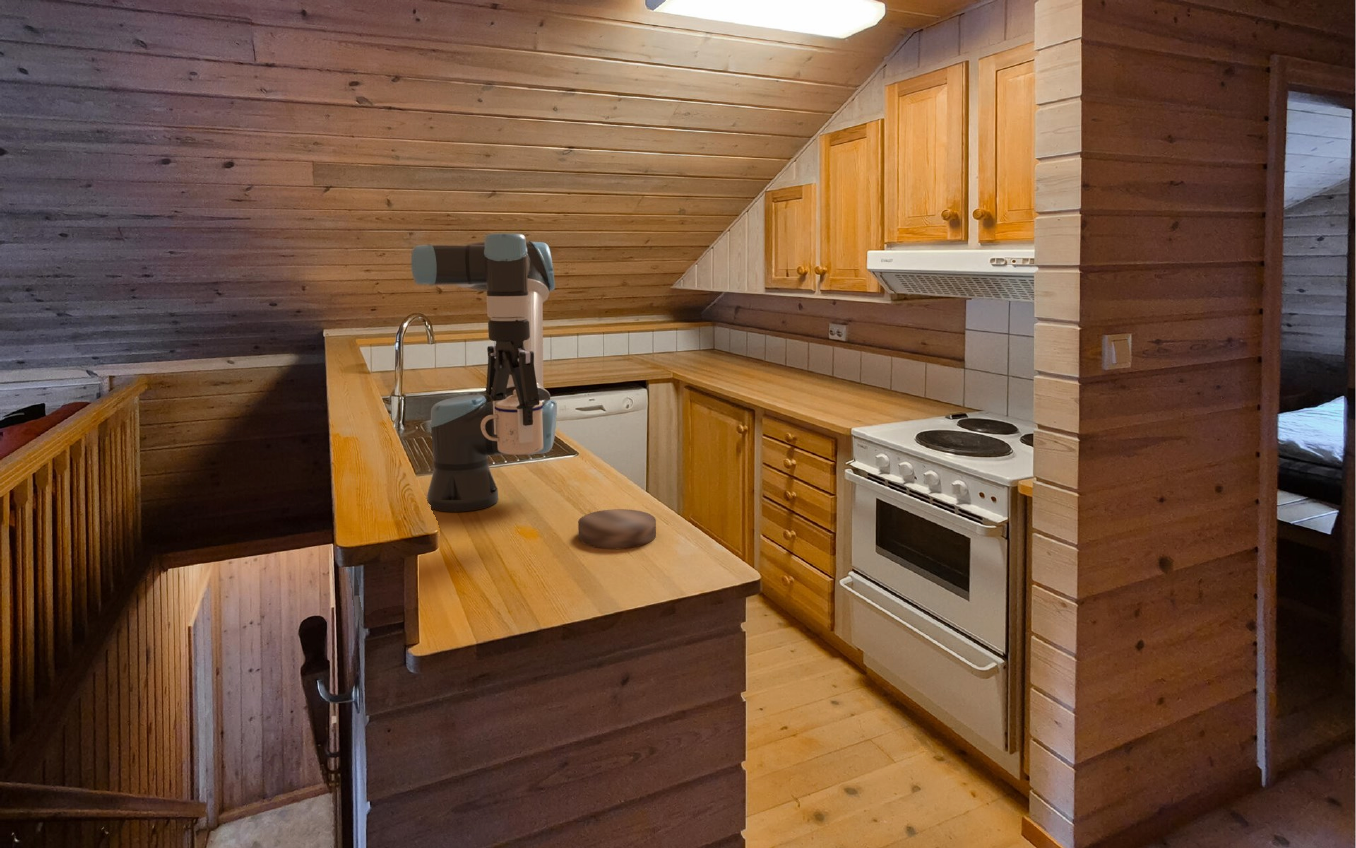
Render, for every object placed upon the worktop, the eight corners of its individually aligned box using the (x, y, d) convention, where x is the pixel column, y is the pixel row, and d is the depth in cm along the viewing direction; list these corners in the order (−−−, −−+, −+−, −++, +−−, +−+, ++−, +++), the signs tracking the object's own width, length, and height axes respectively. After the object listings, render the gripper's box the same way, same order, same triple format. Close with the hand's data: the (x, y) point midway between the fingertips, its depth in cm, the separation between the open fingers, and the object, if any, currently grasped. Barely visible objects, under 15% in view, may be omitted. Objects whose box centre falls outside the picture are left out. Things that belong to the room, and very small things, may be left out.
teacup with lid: (535, 442, 169) (533, 384, 167) (551, 452, 161) (549, 391, 159) (475, 449, 163) (472, 389, 161) (489, 459, 156) (486, 396, 153)
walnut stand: (607, 554, 155) (607, 539, 154) (563, 534, 166) (563, 519, 165) (671, 537, 164) (671, 522, 164) (625, 518, 175) (625, 504, 175)
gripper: (556, 321, 151) (560, 444, 156) (499, 314, 168) (504, 426, 172) (519, 323, 146) (524, 450, 151) (463, 316, 163) (470, 431, 167)
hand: (513, 437), depth 161 cm, fingers closed on teacup with lid, 9 cm apart
